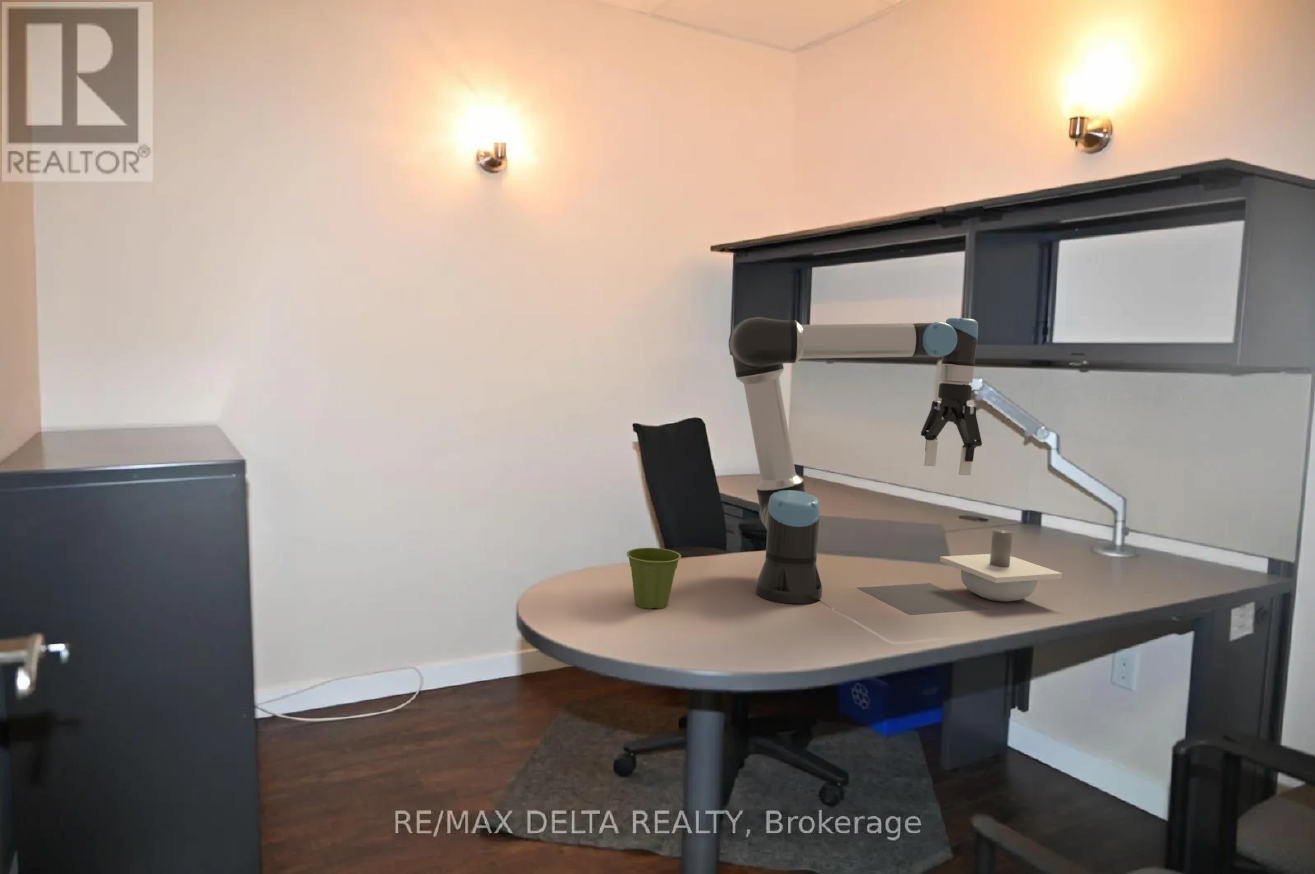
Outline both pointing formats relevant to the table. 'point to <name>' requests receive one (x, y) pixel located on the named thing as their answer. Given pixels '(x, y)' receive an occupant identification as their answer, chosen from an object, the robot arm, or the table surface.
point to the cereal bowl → (998, 588)
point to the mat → (921, 599)
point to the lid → (1000, 563)
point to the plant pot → (652, 575)
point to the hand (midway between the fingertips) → (946, 470)
